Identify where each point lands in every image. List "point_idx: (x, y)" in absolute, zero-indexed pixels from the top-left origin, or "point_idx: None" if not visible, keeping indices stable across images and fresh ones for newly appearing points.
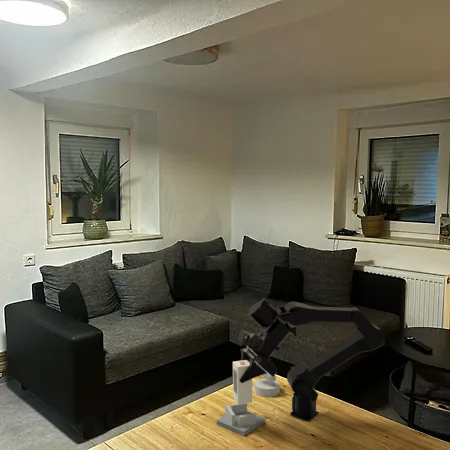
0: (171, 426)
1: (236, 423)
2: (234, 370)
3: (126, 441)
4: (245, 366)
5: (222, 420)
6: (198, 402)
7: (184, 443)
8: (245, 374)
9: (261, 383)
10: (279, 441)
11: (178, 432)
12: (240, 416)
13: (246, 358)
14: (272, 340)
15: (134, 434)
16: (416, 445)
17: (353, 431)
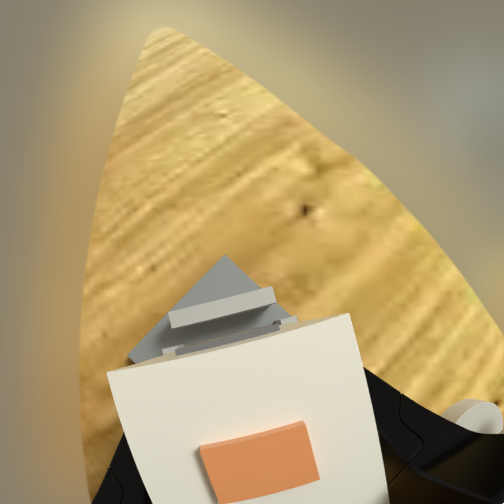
0: (221, 114)
1: (191, 334)
2: (234, 335)
3: (161, 40)
4: (147, 489)
5: (219, 277)
6: (387, 196)
7: (116, 155)
8: (119, 445)
9: (477, 428)
10: (104, 461)
11: (181, 134)
12: (171, 352)
13: (416, 500)
14: None
15: (190, 47)
16: None
17: None
